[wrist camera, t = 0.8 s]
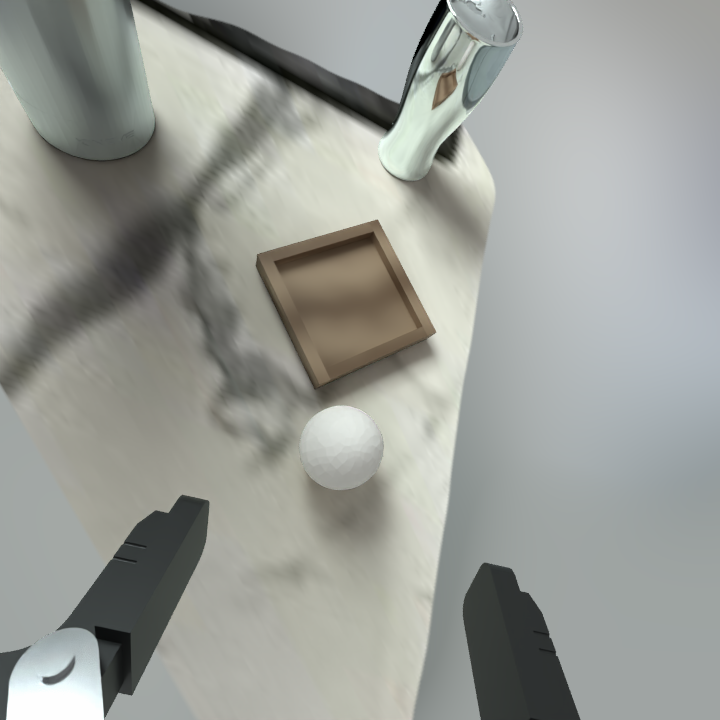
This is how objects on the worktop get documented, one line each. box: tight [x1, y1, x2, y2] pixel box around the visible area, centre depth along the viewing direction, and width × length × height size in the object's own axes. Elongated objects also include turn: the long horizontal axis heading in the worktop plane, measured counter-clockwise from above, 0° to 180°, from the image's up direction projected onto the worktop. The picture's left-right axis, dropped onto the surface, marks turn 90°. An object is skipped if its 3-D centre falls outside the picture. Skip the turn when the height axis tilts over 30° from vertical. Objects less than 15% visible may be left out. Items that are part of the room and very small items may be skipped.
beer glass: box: [378, 0, 523, 181], centre depth 36 cm, size 7×7×15 cm
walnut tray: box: [256, 220, 436, 389], centre depth 35 cm, size 12×12×2 cm
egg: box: [299, 405, 384, 490], centre depth 29 cm, size 6×6×8 cm
